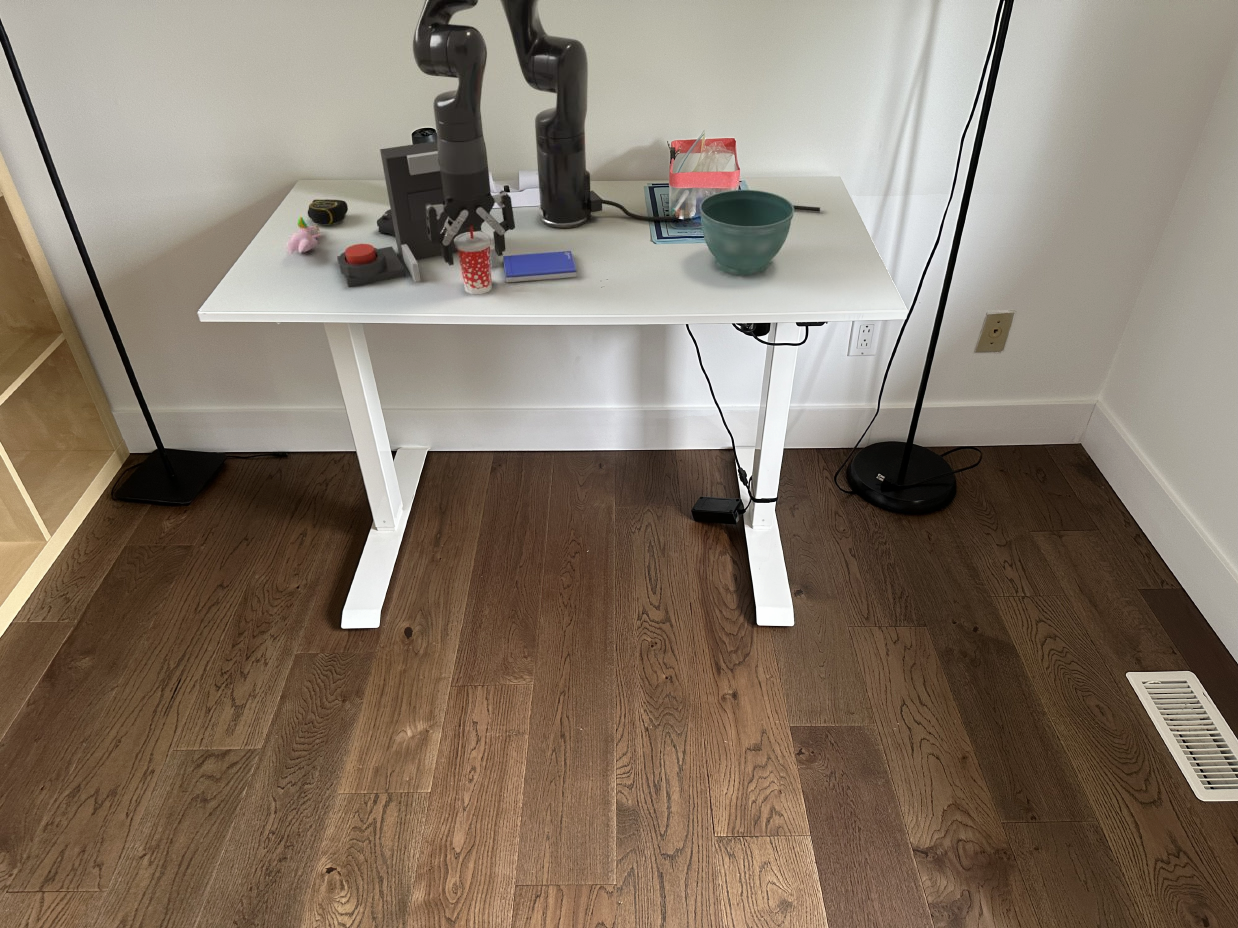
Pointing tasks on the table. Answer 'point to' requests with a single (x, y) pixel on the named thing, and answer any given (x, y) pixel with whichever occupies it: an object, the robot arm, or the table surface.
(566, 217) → the robot arm
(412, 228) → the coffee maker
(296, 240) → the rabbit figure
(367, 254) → the power button
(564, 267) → the hard drive
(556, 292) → the table surface
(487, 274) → the beverage cup
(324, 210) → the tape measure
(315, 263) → the table surface
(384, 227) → the game controller
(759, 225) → the flower pot
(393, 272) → the button deck
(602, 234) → the table surface
